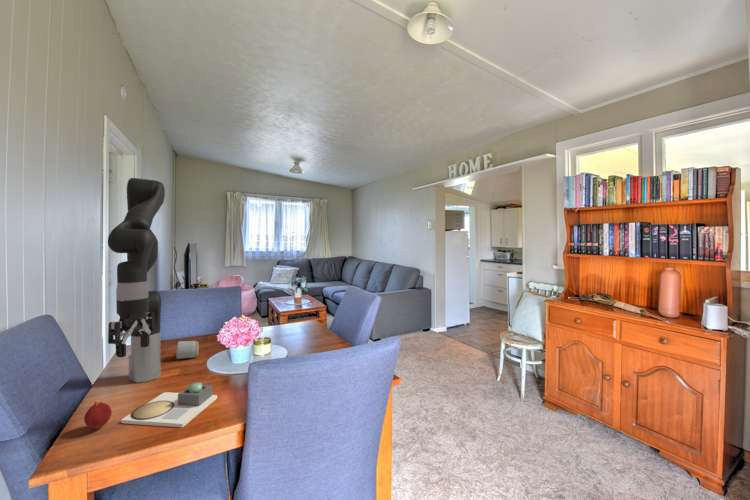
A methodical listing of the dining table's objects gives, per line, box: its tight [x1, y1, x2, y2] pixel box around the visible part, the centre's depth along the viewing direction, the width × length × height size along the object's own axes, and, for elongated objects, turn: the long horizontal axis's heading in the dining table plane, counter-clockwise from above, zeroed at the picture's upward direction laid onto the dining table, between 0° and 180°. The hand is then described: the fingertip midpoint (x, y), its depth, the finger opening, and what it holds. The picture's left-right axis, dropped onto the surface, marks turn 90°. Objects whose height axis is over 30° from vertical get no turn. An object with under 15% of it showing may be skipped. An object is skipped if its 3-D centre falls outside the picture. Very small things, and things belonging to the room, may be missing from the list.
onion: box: [83, 400, 113, 430], centre depth 90 cm, size 6×6×8 cm
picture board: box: [120, 391, 218, 428], centre depth 101 cm, size 20×17×1 cm
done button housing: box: [178, 384, 213, 406], centre depth 105 cm, size 7×7×4 cm
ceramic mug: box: [175, 340, 200, 360], centre depth 146 cm, size 11×8×8 cm
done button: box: [188, 381, 203, 393], centre depth 105 cm, size 4×4×3 cm
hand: (133, 351), depth 95 cm, fingers open, 8 cm apart
